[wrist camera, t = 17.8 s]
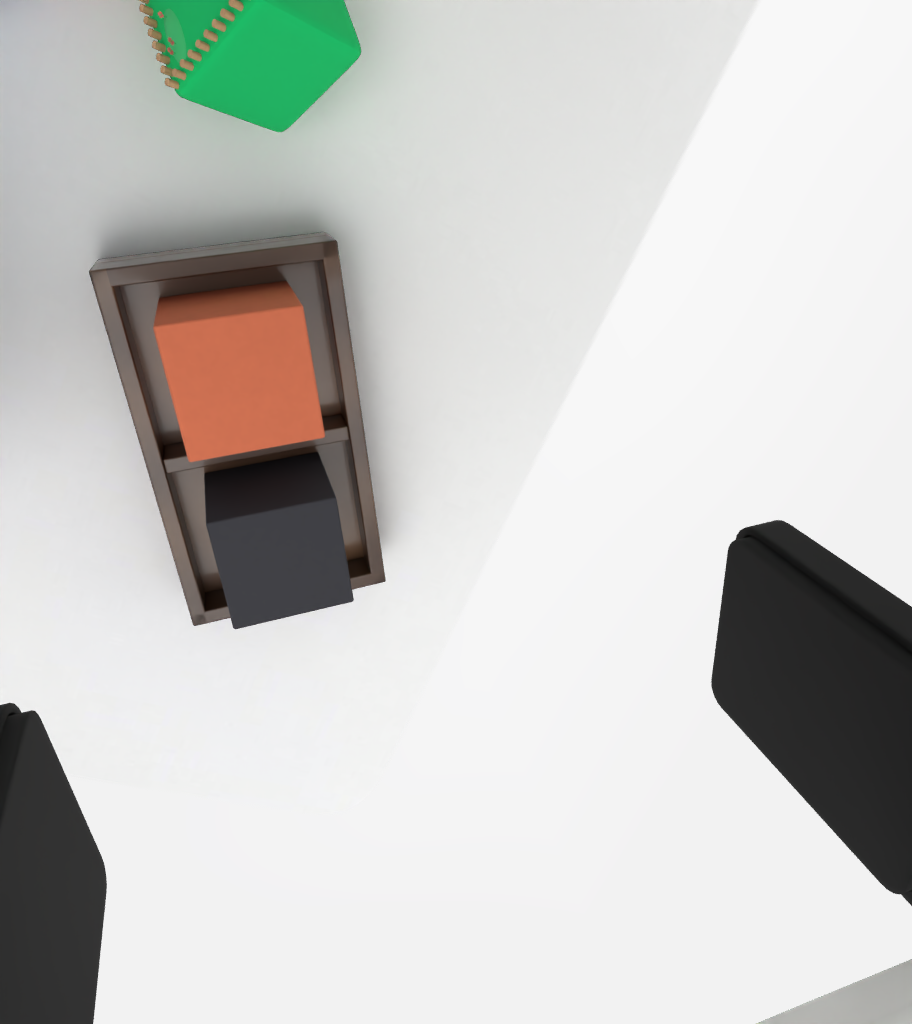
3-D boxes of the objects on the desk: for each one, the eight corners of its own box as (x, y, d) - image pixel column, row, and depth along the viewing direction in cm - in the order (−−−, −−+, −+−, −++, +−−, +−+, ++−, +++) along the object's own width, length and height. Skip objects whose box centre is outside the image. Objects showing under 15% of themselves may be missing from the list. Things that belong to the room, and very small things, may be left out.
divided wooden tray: (96, 259, 26) (88, 270, 24) (325, 231, 28) (337, 240, 26) (193, 594, 33) (193, 626, 31) (374, 554, 35) (386, 582, 32)
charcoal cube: (203, 472, 30) (205, 523, 26) (318, 451, 31) (336, 497, 27) (228, 569, 32) (233, 630, 28) (335, 546, 33) (354, 602, 29)
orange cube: (157, 297, 26) (152, 326, 23) (287, 279, 27) (302, 304, 24) (189, 418, 28) (188, 463, 25) (308, 398, 30) (325, 438, 26)
